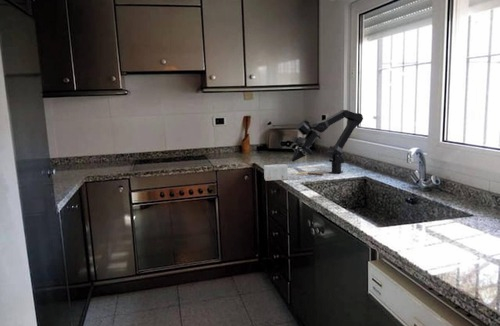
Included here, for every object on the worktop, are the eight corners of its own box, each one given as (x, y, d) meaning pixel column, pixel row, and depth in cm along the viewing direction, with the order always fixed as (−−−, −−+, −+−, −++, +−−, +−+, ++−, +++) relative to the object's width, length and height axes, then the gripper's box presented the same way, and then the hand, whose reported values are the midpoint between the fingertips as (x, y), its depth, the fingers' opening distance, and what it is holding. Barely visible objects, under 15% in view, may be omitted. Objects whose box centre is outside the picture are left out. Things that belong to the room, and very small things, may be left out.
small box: (285, 163, 217) (263, 164, 216) (287, 165, 211) (265, 166, 210) (286, 177, 219) (264, 178, 217) (288, 179, 212) (265, 180, 211)
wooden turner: (299, 172, 230) (299, 171, 230) (324, 174, 221) (324, 172, 221) (295, 174, 225) (295, 172, 225) (320, 176, 216) (320, 174, 216)
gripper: (292, 130, 221) (276, 150, 220) (307, 132, 204) (289, 154, 202) (304, 141, 225) (289, 161, 224) (320, 145, 208) (303, 167, 206)
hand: (292, 161), depth 214 cm, fingers closed
